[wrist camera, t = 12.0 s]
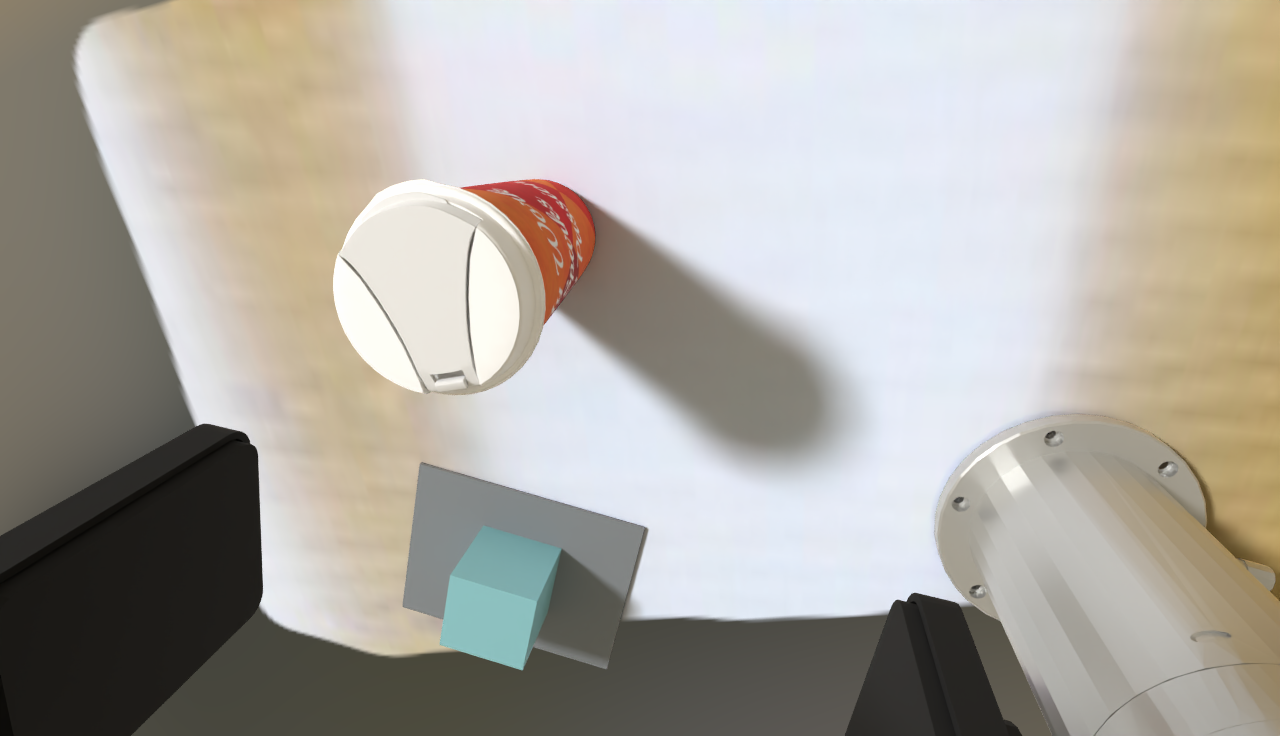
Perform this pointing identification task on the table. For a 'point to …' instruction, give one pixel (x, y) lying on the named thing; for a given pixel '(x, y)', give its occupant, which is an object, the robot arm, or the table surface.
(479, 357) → the paper cup
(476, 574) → the teal block
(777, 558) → the table surface
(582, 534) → the slate mat
